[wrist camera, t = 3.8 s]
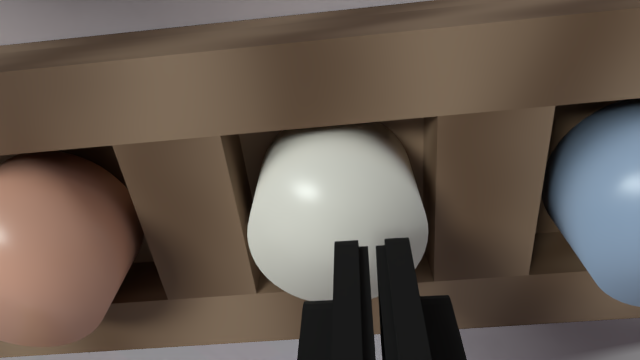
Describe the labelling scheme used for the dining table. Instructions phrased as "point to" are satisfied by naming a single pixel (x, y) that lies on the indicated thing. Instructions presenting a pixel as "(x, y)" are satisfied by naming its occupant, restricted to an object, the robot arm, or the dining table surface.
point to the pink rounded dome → (61, 246)
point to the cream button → (331, 204)
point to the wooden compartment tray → (329, 110)
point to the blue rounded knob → (600, 196)
